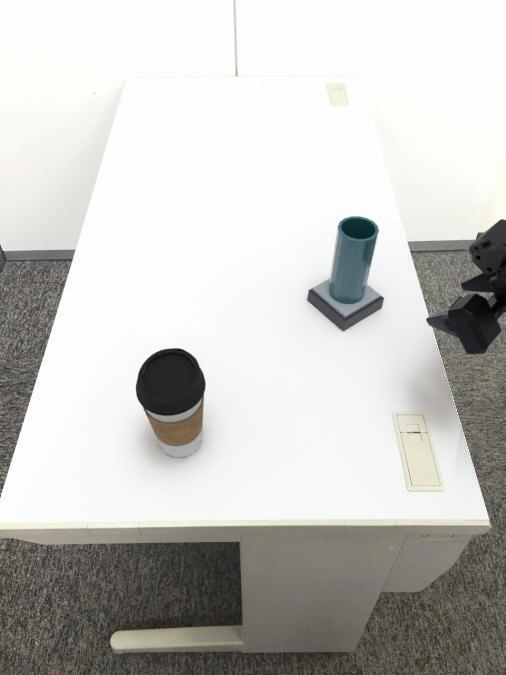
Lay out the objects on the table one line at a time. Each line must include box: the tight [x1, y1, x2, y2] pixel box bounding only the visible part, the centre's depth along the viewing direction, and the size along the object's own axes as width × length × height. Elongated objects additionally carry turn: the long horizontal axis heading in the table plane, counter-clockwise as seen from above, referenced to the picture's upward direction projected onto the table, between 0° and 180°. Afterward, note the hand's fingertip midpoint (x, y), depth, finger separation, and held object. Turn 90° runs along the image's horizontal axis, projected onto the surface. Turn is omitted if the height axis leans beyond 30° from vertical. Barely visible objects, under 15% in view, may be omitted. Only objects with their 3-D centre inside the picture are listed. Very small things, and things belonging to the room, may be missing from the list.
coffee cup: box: [135, 347, 207, 459], centre depth 68 cm, size 8×8×15 cm
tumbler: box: [329, 215, 380, 304], centre depth 84 cm, size 6×6×13 cm
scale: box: [306, 278, 385, 332], centre depth 90 cm, size 9×9×3 cm
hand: (445, 303), depth 72 cm, fingers open, 9 cm apart
